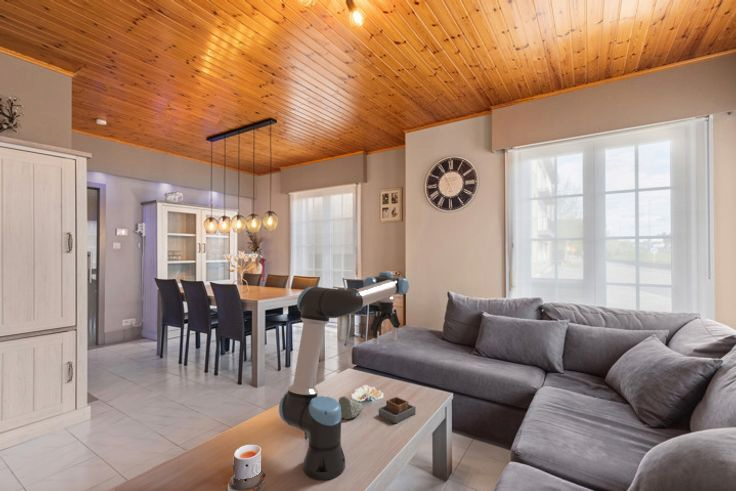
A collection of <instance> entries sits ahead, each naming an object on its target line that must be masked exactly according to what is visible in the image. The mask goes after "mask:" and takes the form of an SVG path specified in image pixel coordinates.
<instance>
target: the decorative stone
mask: <svg viewBox="0 0 736 491" xmlns="http://www.w3.org/2000/svg"><path fill="white" fill-rule="evenodd" d="M338 402H339V404H340V407H341V419H343V420H351V419H353V418H356V417H357V416H358V415H359V413H361V412H362V411H363V409H364V407H363V404H362V403H361V402H357V401H356V400H352V399H351V398H349V397H346V396H340V397H339V398H338Z"/></svg>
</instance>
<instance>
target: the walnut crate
mask: <svg viewBox="0 0 736 491" xmlns="http://www.w3.org/2000/svg"><path fill="white" fill-rule="evenodd" d="M385 401H386V411H387V412H389V413H391V414H393V415H398V414H400V413H402V412H404V411H406V410H408V404H409V401H407V400H405V399H403V398H400V397H398V396H394V397H392V398H389V399H387V400H385Z"/></svg>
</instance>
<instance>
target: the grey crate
mask: <svg viewBox="0 0 736 491" xmlns="http://www.w3.org/2000/svg"><path fill="white" fill-rule="evenodd" d="M416 410H417V409H416V406H415V405H412V404H409V403H408V410H406V411H404V412H402V413H400V414H398V415H393V414H391V413H389V412H387V411H386V405H385V404H384V405H383V406H380V407H378V417H380V418H382V419H385V420H386V421H389V422H391V423H393V424H395V425H397V424H398V423H401V422H403V421H404V420H407V419H409V418H411V417H413V416H415V415H416Z"/></svg>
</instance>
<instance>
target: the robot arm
mask: <svg viewBox="0 0 736 491" xmlns="http://www.w3.org/2000/svg"><path fill="white" fill-rule="evenodd" d="M409 289H410V285H409V281H408V280H407V278H403V277H394V273H393V272H392V271H380V272H379V273H378V276H369V277H368V276H367V277H366V278H365V279H364V280H363V287H361V288H358V289H357V288H354V287H353V288H348V289H343V288H342V289H339V288H330V287H329V288H328V287H320V286H308V287H305V288H304V289H303V290H302V291H301V292H300V294H299V296H298V297H297V303H296V306H297V309H298V311H299V312H300V320H301V321H302V323H303V324H302V330H301V335H300V342H299V347H298V354H297V359H296V365H295V369H294V370H295V371H294V378H293V382H292V384H291V385H290V386H289V387H288V389H287V392H285V393H284V394H283V396H282V397H281V398H280V402H279V404H278V405H279V406H278V413H279V417H280V418H281V420H282V421H283V422H284V423H286V424H287V425H288V426H290V427H294V428H296V429H297V430H300V431H302V432H305V433H307V434H308V446H307V450H306V453H305V457H304V460H303V465H302V466H303V468H302V469H303V472H304V474H305V475H306V476H307V477H308V478H310V479H313V480H317V481H326V480H331V479H334V478H336V477H339V476H340V475H341V474H343V472H344V471H345V468H346V457H345V454H344V450H343V447H342V443H341V441H342V440H341V439H342V436H341V434H342V417H341V407H340V404H339V400H337V399H336V398H333V397H331V396H323V395H321V396H318V394H319V390H318V389H317V388H316V380H317V375H318V368H319V361H320V356H321V350H322V349H321V348H322V343H323V336H324V332H325V326H326V325H327V324H328V323H329V322H330V319H338V318H342V317H346V316H349V315H352V314H355V313H357V312H359V311H361V310H362V309H363V307H365V306H368V305H371V304H373V303H375V302H378V309H379V311H375V312H374V317H373V320H372V323H371V326H370V331H372V334H373V340H374V342H373V344H374V345H377V346H378V345H380V331H379V329H380V327H381V326H382V323H383V322H384V321H385V320H389V322H390V324H391V325H392V328H391V340H394V341H397V339H398V338H397V337H398V329H399V327H400V326H401V323H400V320H399V317H398V312H397V309H396V308H394V296H395V295H406V294H407V293H408V291H409Z"/></svg>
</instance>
